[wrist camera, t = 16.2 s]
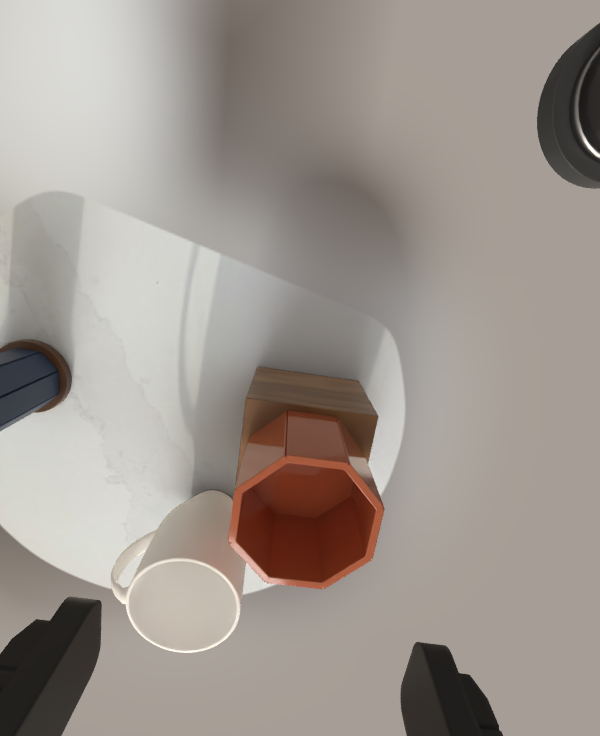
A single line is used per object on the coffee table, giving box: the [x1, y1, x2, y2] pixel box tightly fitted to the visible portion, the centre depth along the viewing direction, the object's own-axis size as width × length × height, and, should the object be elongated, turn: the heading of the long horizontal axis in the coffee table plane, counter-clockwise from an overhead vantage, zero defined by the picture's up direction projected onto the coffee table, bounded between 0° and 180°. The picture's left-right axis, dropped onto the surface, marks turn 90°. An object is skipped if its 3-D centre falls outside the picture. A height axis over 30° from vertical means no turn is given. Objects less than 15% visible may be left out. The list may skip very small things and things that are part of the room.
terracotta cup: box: [228, 410, 384, 589], centre depth 27 cm, size 9×9×7 cm
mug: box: [111, 490, 246, 653], centre depth 35 cm, size 12×9×12 cm
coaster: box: [0, 340, 71, 412], centre depth 37 cm, size 7×7×1 cm
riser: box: [235, 367, 378, 486], centre depth 34 cm, size 10×10×9 cm
